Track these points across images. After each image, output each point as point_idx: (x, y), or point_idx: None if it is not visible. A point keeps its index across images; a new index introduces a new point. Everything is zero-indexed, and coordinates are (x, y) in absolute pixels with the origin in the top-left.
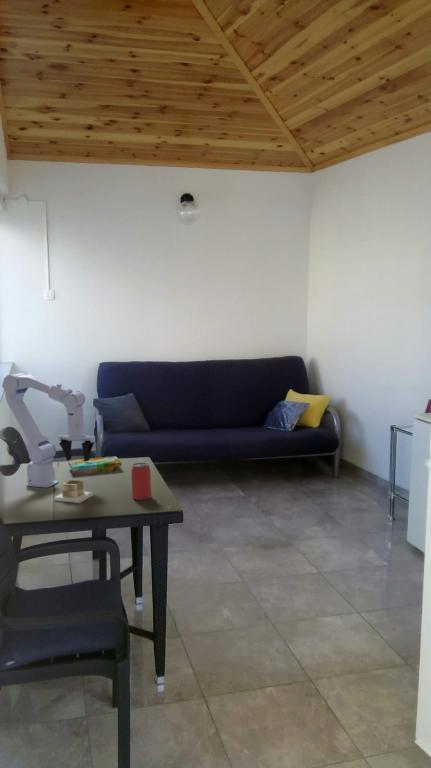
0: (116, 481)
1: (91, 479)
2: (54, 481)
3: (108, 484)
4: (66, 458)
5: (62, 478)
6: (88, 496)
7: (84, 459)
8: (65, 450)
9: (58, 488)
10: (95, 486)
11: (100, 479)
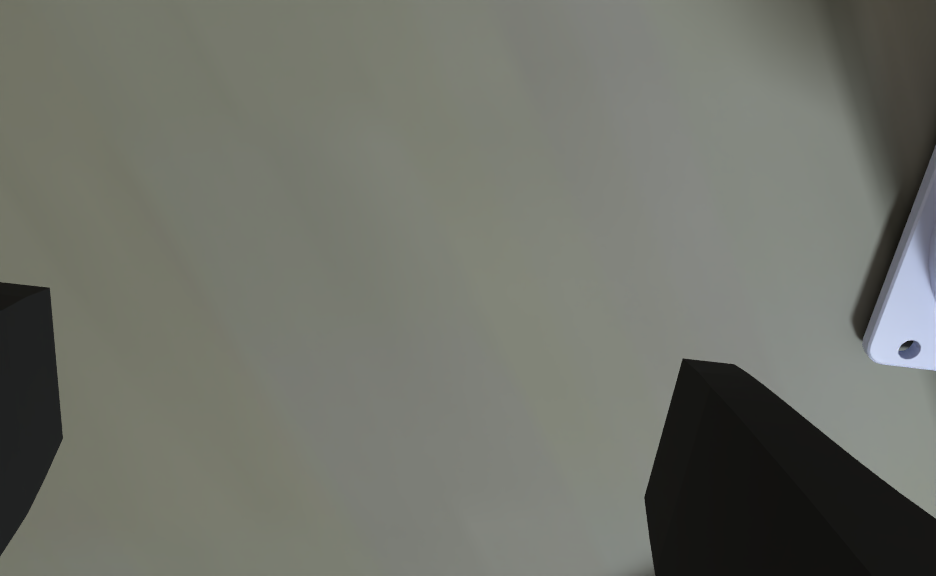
0: None
1: (416, 526)
2: (933, 325)
3: None
4: (757, 383)
5: None
6: None
7: (13, 303)
8: (893, 564)
9: (764, 27)
10: (173, 217)
11: (288, 538)
